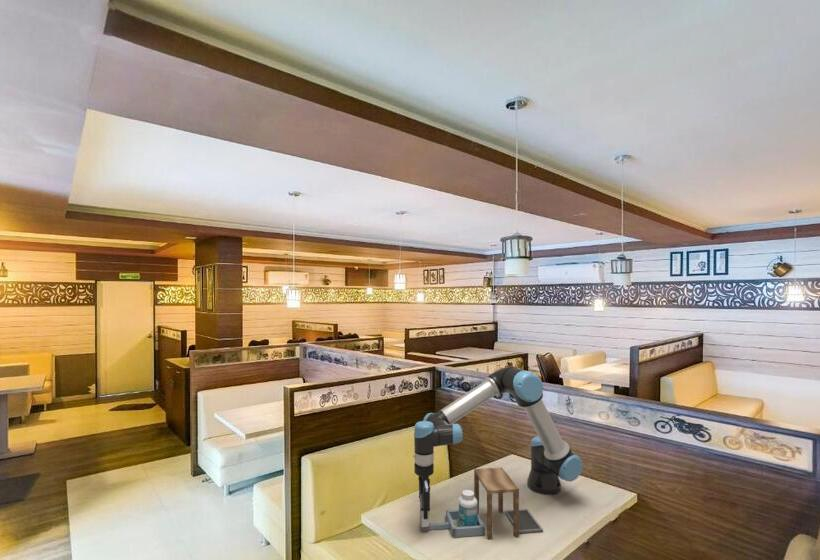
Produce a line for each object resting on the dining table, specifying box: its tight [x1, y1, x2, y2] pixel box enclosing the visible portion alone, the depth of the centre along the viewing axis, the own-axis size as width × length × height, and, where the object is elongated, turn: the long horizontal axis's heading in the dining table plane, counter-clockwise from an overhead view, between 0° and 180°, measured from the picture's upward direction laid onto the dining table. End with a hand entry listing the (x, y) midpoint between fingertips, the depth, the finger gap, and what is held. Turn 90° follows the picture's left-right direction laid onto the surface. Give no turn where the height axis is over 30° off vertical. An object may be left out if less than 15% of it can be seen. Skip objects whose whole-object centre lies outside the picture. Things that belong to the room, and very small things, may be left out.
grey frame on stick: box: [419, 494, 486, 538], centre depth 165 cm, size 24×13×13 cm, turn 97°
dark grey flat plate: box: [504, 508, 544, 535], centre depth 168 cm, size 10×15×1 cm, turn 7°
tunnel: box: [473, 467, 520, 540], centre depth 167 cm, size 12×19×18 cm, turn 7°
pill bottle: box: [458, 489, 478, 527], centre depth 165 cm, size 8×7×14 cm
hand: (424, 522), depth 163 cm, fingers closed on grey frame on stick, 4 cm apart
